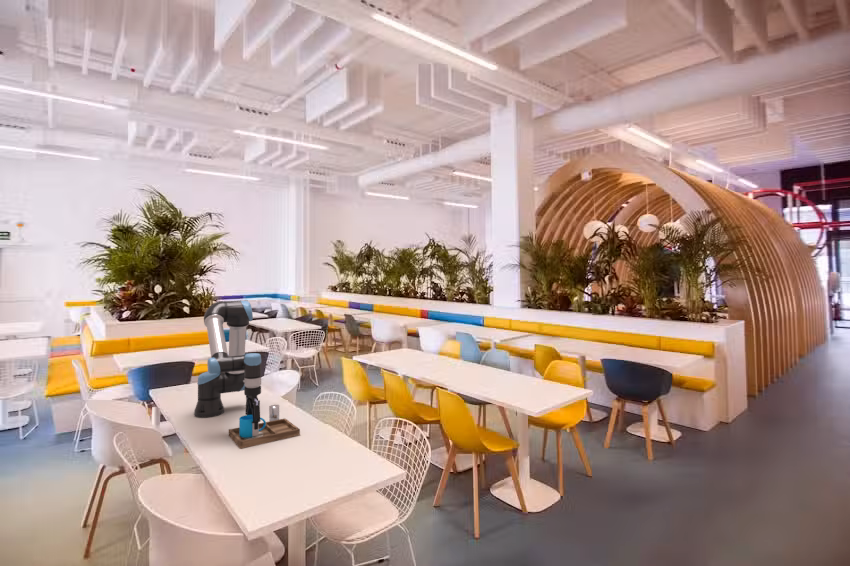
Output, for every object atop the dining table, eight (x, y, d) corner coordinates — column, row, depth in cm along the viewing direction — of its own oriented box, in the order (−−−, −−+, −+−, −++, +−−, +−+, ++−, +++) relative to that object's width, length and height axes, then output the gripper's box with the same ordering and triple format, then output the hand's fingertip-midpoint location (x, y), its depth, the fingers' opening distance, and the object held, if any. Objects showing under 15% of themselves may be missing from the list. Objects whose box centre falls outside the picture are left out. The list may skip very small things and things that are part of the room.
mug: (240, 438, 205) (240, 421, 205) (238, 433, 212) (238, 416, 212) (267, 434, 211) (267, 417, 211) (264, 428, 218) (264, 412, 218)
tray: (228, 435, 215) (228, 429, 215) (285, 423, 232) (285, 418, 232) (240, 448, 199) (240, 442, 199) (299, 435, 216) (299, 429, 216)
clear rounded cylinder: (268, 422, 234) (268, 405, 233) (277, 420, 237) (277, 404, 237) (271, 425, 230) (271, 408, 230) (280, 423, 233) (280, 406, 233)
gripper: (238, 382, 217) (238, 428, 218) (251, 392, 201) (251, 441, 201) (254, 380, 222) (254, 425, 222) (267, 389, 205) (267, 437, 206)
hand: (252, 432), depth 212 cm, fingers closed on mug, 8 cm apart
